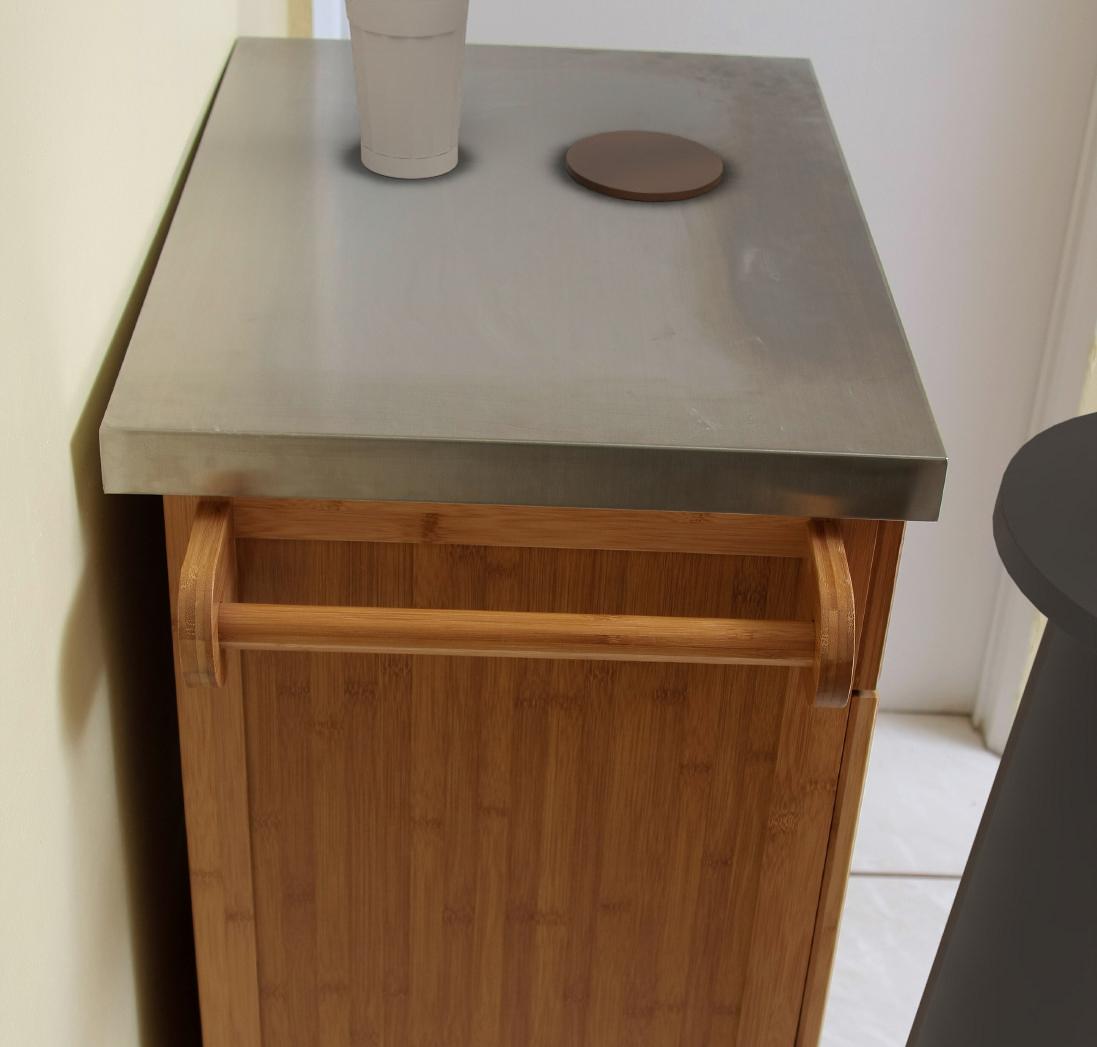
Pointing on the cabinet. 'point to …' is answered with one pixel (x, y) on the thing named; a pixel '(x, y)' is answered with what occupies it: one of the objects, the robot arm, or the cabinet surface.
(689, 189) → the coaster
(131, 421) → the cabinet surface
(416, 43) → the cup
